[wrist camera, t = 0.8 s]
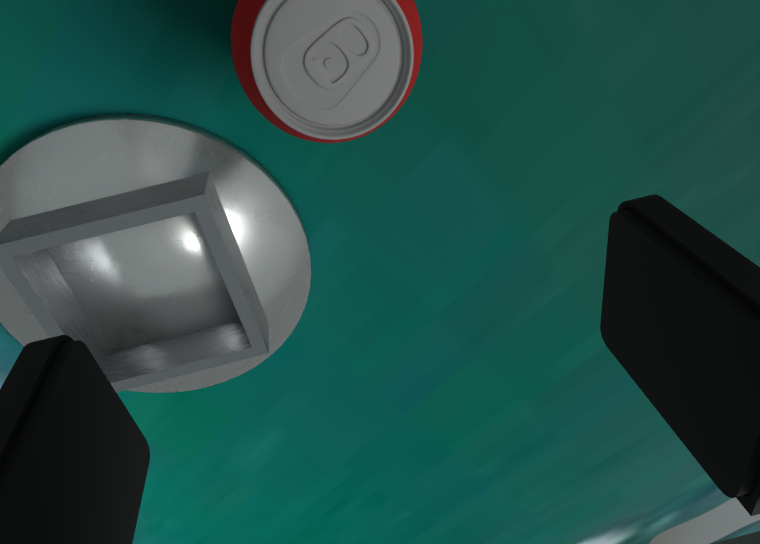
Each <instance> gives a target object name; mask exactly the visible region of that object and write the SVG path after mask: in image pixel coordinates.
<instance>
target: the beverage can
mask: <svg viewBox="0 0 760 544" xmlns="http://www.w3.org/2000/svg"><path fill="white" fill-rule="evenodd" d="M231 50H232V57H233V62H234V66H235V70H236V73H237V76H238V79H239V81H240V83H241V86H242V88H243V89H244V91H245V93H246V95H247V96H248V98H249V100H250V101H251V102H252V104H253V105H254V106H255V108H256V109H257V110H258V111H259V112H260V113H261V114H262V115H263V116H264V117H265V118H266V119H267V120H268V121H270V122H271V123H272V124H273V125H275V126H276V127H278V128H279V129H281V130H283V131H285V132H286V133H288V134H291V135H293V136H295V137H298V138H301V139H304V140H308V141H313V142H321V143H336V142H344V141H349V140H353V139H356V138H359V137H362V136H364V135H367V134H369V133H370V132H372V131H374V130H376V129H377V128H379V127H380V126H382V125H383V124H384V123H386V122H387V121H388V120H389V119H390V118H391V117H392V116H393V115H394V114H395V113H396V112H397V111H398V110H399V109H400V107H401V106H402V105H403V103H404V102H405V100H406V99H407V97H408V95H409V94H410V92H411V90H412V88H413V85H414V83H415V80H416V78H417V75H418V71H419V67H420V62H421V56H422V31H421V24H420V19H419V15H418V11H417V8H416V5H415V3H414V0H238V1H237V4H236V8H235V12H234V16H233V21H232V29H231Z"/></svg>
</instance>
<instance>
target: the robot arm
mask: <svg viewBox="0 0 760 544" xmlns="http://www.w3.org/2000/svg"><path fill="white" fill-rule="evenodd" d="M600 330H601V335H602V338H603V340H604V342H605V344H606V346H607V347H608V348H609V350H610V351H611V352H612V354H613V355H614V356H615V357H616V359H617V360H618V361H619V362H620V364H621V365H622V366H623V367H624V369H625V370H626V371H627V373H628V374H629V375H630V376H631V378H632V379H633V380H634V381H635V383H636V384H637V385H638V386H639V388H640V389H641V390H642V392H643V393H644V394H645V395H646V397H647V398H648V399H649V400H650V402H651V403H652V404H653V405H654V407H655V408H656V409H657V411H658V412H659V413H660V414H661V416H662V417H663V418H664V419H665V421H666V422H667V423H668V424H669V426H670V427H671V428H672V430H673V431H674V432H675V433H676V435H677V436H678V437H679V438H680V440H681V441H682V442H683V443H684V445H685V446H686V447H687V449H688V450H689V451H690V452H691V454H692V455H693V456H694V457H695V459H696V460H697V461H698V463H699V464H700V465H701V466H702V468H703V469H704V470H705V471H706V473H707V474H708V475H709V476H710V478H711V479H712V480H713V482H714V483H715V484H716V485H717V487H718V488H719V489H720V490H721V491H722V492H723V493H724V494H725V495H726V496H728V497H731V498H735V497H736V498H737V499H738V500H739V501H740V503H741V504H742V505H743V506H744V508H745V509H746V510H747V511H748V513H749V514H750V515H751V516H753V515H757V514H760V267H758V266H757V265H756V264H754V263H753V262H751V261H750V260H749V259H747V258H746V257H744V256H743V255H742V254H740V253H739V252H737V251H736V250H735V249H733V248H732V247H730V246H729V245H728V244H726V243H725V242H723V241H722V240H721V239H719V238H718V237H716V236H715V235H714V234H712V233H711V232H710V231H708V230H707V229H705V228H704V227H703V226H701V225H700V224H698V223H697V222H696V221H694V220H693V219H691V218H690V217H689V216H687V215H686V214H684V213H683V212H682V211H680V210H679V209H677V208H676V207H675V206H673V205H672V204H670V203H669V202H668V201H666V200H665V199H663V198H662V197H660V196H658V195H650V196H645V197H641V198H637V199H633V200H628V201H624V202H622V203H621V204H620V206H619V207H618V211H617V212H614V213H613V214H612V215H611V217H610V221H609V232H608V244H607V255H606V267H605V278H604V290H603V302H602V313H601V325H600ZM149 460H150V451H149V446H148V443H147V441H146V439H145V437H144V435H143V434H142V432H141V431H140V429H139V428H138V426H137V424H136V423H135V421H134V420H133V418H132V417H131V415H130V413H129V412H128V410H127V409H126V407H125V406H124V404H123V402H122V401H121V399H120V398H119V396H118V395H117V393H116V391H115V390H114V388H113V387H112V385H111V384H110V382H109V380H108V379H107V377H106V376H105V374H104V373H103V371H102V369H101V368H100V366H99V365H98V363H97V362H96V360H95V358H94V357H93V355H92V354H91V352H90V351H89V349H88V347H87V346H86V345H85V343H84V342H82V341H81V340H76V341H74V340H73V339H72V338H71V337H69V336H68V335H60V336H55V337H51V338H47V339H43V340H39V341H34V342H31V343H28V344H26V346H25V347H24V348H23V350H22V351H21V353H20V355H19V357H18V359H17V360H16V362H15V364H14V366H13V368H12V369H11V371H10V373H9V375H8V377H7V378H6V380H5V382H4V384H3V386H2V387H1V389H0V544H132V542H133V537H134V532H135V528H136V523H137V518H138V513H139V509H140V504H141V499H142V494H143V490H144V485H145V480H146V475H147V471H148V466H149ZM713 544H760V531H759V532H755V533H751V534H747V535H743V536H739V537H735V538H732V539H728V540H724V541H721V542H717V543H713Z"/></svg>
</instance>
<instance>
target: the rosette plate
mask: <svg viewBox="0 0 760 544" xmlns="http://www.w3.org/2000/svg"><path fill="white" fill-rule="evenodd" d="M310 280H311V264H310V252H309V245H308V241H307V236H306V232H305V228H304V226H303V223H302V220H301V218H300V215H299V213H298V211H297V209H296V207H295V205H294V204H293V202H292V200H291V198H290V197H289V195H288V194H287V192H286V191H285V190H284V188H283V187H282V186H281V184H280V183H279V182H278V180H277V179H276V178H275V177H274V176H273V175H272V174H271V173H270V172H269V171H268V170H267V169H266V168H265V167H264V166H263V165H262V164H261V163H260V162H258V161H257V160H256V159H255V158H253V157H252V156H251V155H249V154H248V153H247V152H246V151H244V150H243V149H241V148H239V147H238V146H236V145H235V144H233V143H231V142H230V141H228V140H226V139H225V138H223V137H221V136H218V135H216V134H214V133H212V132H210V131H208V130H205V129H203V128H200V127H197V126H194V125H191V124H188V123H185V122H182V121H179V120H174V119H169V118H164V117H159V116H153V115H141V114H108V115H100V116H94V117H88V118H82V119H78V120H75V121H72V122H69V123H66V124H62V125H59V126H57V127H55V128H53V129H51V130H48V131H46V132H44V133H42V134H40V135H38V136H37V137H35V138H34V139H32V140H31V141H29V142H28V143H26V144H25V145H23V146H22V147H21V148H19V149H18V150H17V151H16V152H15V153H14V154H13V155H12V156H10V157H9V158H8V159H7V160H6V161H5V162H4V163H3V164H2V165H1V166H0V323H1V324H2V325H3V326H4V327H5V328H6V330H7V331H8V332H9V333H10V334H11V335H12V336H13V337H15V338H16V339H17V340H18V341H19V342H20V343H21V344H22V345H23V346H26V344H28V343H31V342H34V341H39V340H43V339H47V338H51V337H55V336H60V335H68V336H69V337H71V338H72V339H73V340H74V341H76V340H81V341H82V342H84V343H85V345H86V346H87V347H88V349H89V351H90V352H91V354H92V355H93V357H94V358H95V360H96V362H97V363H98V365H99V366H100V368H101V369H102V371H103V373H104V374H105V376H106V377H107V379H108V380H109V382H110V384H111V385H112V387H113V388H114V390H115V391H116V392H120V391H124V390H129V391H137V392H151V393H162V392H180V391H189V390H194V389H199V388H204V387H209V386H212V385H215V384H218V383H222V382H225V381H227V380H230V379H232V378H234V377H237V376H239V375H241V374H243V373H245V372H247V371H248V370H250V369H252V368H254V367H255V366H257V365H258V364H260V363H261V362H263V361H264V360H265V359H267V358H268V357H269V356H271V355H272V354H273V353H274V352H275V351H276V350H277V349H278V348H279V347H280V346H281V345H282V344H283V343H284V341H285V340H286V339H287V338H288V336H289V335H290V334H291V333H292V331H293V330H294V328H295V326H296V325H297V323H298V321H299V320H300V317H301V315H302V313H303V310H304V308H305V305H306V302H307V298H308V294H309V290H310Z"/></svg>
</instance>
